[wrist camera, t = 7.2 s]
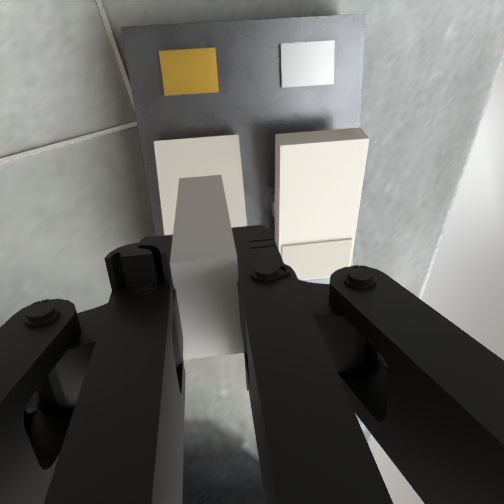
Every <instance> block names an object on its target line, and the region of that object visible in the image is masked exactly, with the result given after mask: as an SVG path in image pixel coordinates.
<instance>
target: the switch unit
mask: <svg viewBox="0 0 504 504" xmlns="http://www.w3.org/2000/svg"><path fill="white" fill-rule="evenodd" d="M365 19H366V14H348V15H330V16H312V17H294V18H276V19H258V20H240V21H222V22H204V23H186V24H168V25H150V26H132V27H121V30H122V36H123V42H124V48H125V55H126V61H127V67H128V73H129V79H130V85H131V91H132V97H133V103H134V109H135V115H136V121H137V127H138V133H139V139H140V145H141V151H142V157H143V164H144V170H145V176H146V182H147V188H148V194H149V200H150V206H151V212H152V218H153V224H154V230H155V236H162V235H164V228H163V219H162V210H161V201H160V193H159V184H158V175H157V166H156V157H155V148H154V141H162V140H175V139H187V138H200V137H213V136H225V135H238V134H239V145H240V155H241V166H242V176H243V187H244V197H245V208H246V219H247V226H254V225H263V226H264V227H266V228H267V229H269V230H271V232H272V234H273V237H274V240H275V134H284V133H296V132H309V131H322V130H334V129H347V128H360V113H361V95H362V76H363V57H364V38H365ZM352 264H353V254H352V261H351V266H352ZM302 281H306V282H312V283H322V284H330V277H328V278H319V279H310V280H302Z"/></svg>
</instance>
